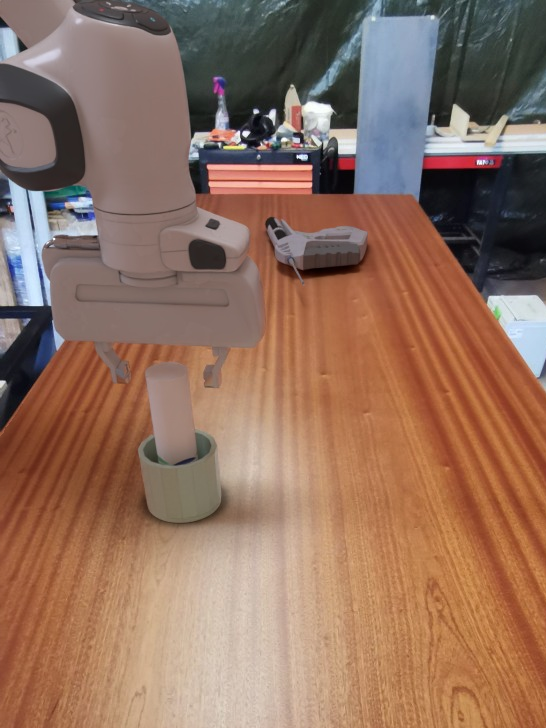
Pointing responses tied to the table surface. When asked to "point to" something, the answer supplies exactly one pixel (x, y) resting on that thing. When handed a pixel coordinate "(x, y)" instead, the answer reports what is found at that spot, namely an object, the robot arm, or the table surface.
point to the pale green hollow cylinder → (182, 482)
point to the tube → (171, 413)
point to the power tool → (316, 246)
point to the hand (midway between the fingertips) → (167, 383)
